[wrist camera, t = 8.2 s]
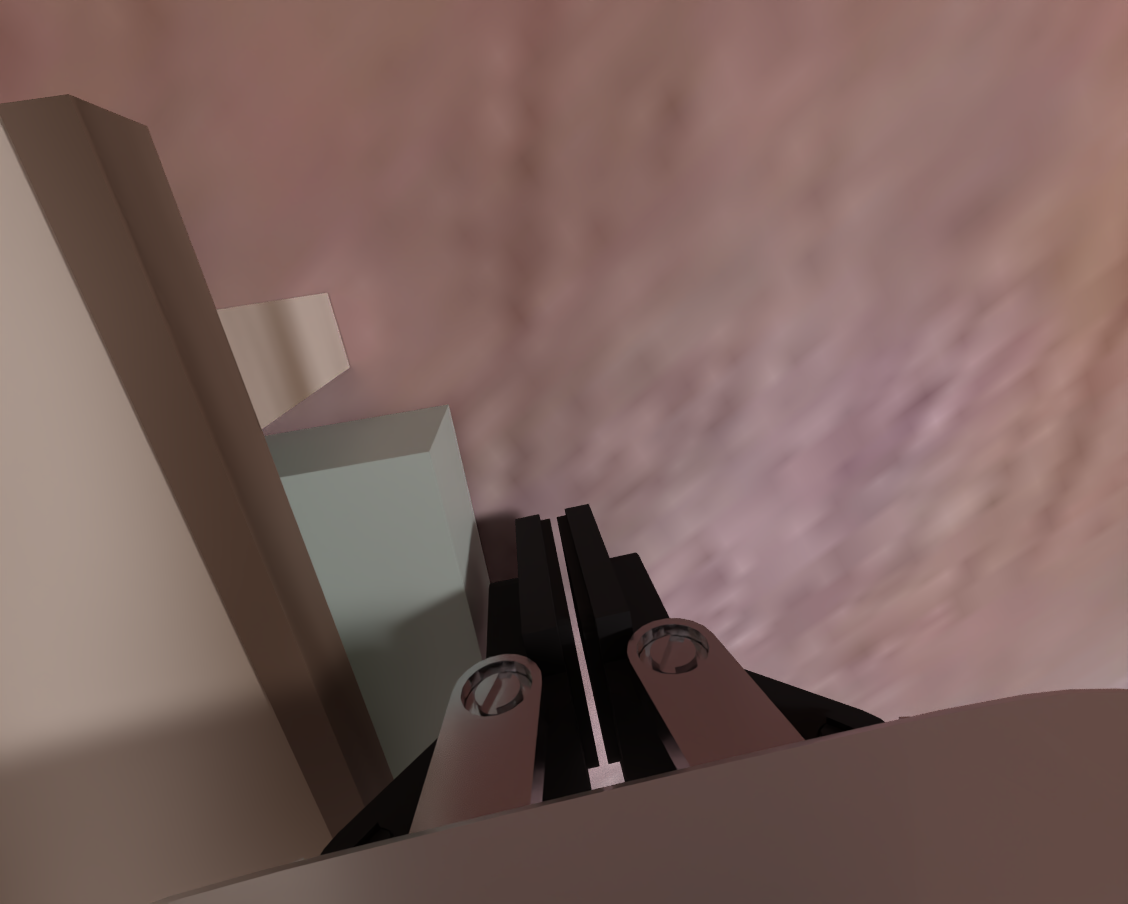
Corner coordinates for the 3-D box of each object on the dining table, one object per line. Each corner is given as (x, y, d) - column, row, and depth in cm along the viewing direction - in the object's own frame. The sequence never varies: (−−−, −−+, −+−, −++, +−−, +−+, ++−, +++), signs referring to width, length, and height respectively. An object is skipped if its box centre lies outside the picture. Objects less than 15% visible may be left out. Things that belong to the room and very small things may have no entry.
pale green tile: (-147, 506, 11) (-384, 593, 8) (448, 404, 11) (429, 451, 8) (47, 788, 13) (-75, 928, 10) (516, 694, 14) (518, 803, 11)
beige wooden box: (295, 186, 10) (68, 94, 5) (479, 793, 15) (471, 1066, 10) (-422, 298, 9) (-1697, 340, 4) (46, 895, 14) (-204, 1248, 9)
